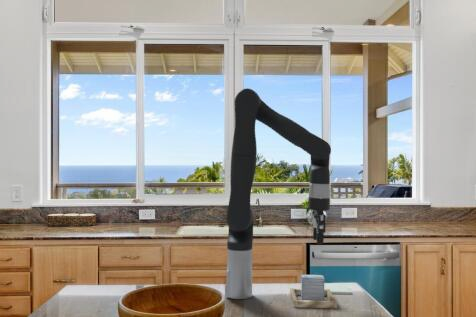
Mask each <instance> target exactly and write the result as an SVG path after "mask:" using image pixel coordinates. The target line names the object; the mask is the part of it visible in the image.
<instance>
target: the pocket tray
mask: <svg viewBox="0 0 476 317" xmlns="http://www.w3.org/2000/svg"><path fill="white" fill-rule="evenodd" d="M289 293H290V298H291V301H292V305H293V308H307V309H308V308H311V309H312V308H313V309H316V308H317V309H338V301H337V299H336V298H335V296H334V294H332V293H331V291H330V289H324V297H325V296H326V297H327V298H328V300H324V301H314V300H301V299H298V298H297V296H301V288H290V292H289Z"/></svg>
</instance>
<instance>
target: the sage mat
mask: <svg viewBox="0 0 476 317" xmlns="http://www.w3.org/2000/svg"><path fill="white" fill-rule="evenodd" d="M324 289H330V291H331V293H332V294H333V295H352V291H351V289H350V288H349V287H348V286H347V284H346V283H333V282H331V283H329V282H324Z"/></svg>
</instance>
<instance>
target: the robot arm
mask: <svg viewBox="0 0 476 317" xmlns="http://www.w3.org/2000/svg"><path fill="white" fill-rule="evenodd" d="M256 121H259V123H262V124H263V125H265V126H267V127H268V128H269V129H271V130H272V131H274V132H275V133H276V134H278V135H279V136H280V137H282V138H283V139H285V140H286V141H287V142H290V143H291V144H293V146H296V147H298V148H300V149H301V150H303V151H304V152H306V153H307V154H309V155H310V171H309V185H308V201H307V202H308V204H307V207H308V209H309V210H310V211H311V210H312V219H311V220H312V221H311V226H312V239H313V240H314V241H316V244H317V245H319V246H320V245H321V246H322V245H323V244H324V238H325V236H324V234H325V233H326V232H327V231H326V220H327V216H326V214H325V213H324V212H325V211H330V208H331V205H330V204H331V186H330V185H331V184H330V183H331V180H330V179H331V174H330V173H331V172H330V157H331V156H330V155H331V152H332V148H331V146H330V144H329V143H328V141H327V140H324V139H323V138H321V137H319V136H318V135H316V134H314V133H313V132H310V131H309V130H308V129H306V128H305V127H303V126H302V125H300V124H299V123H298V122H295V121H294V120H292V119H291V118H289V117H287V116H285V115H283V114H280V112H277V111H276V110H275V109H273V108H271V107H270V106H269V105H268V104H267V103H265V102H264V101H263V100H262V99H261V98H260V96H259V94H258V93H257V91H255V90H253V89H251V88H243V89H241V90H239V91H238V92H237V93H236V95H235V98H234V132H233V138H232V147H231V155H230V194H229V199H228V200H229V201H228V206H227V211H226V217H225V218H226V223H227V226H228V235H227V244H226V246H227V247H226V256H227V257H226V286H225V287H226V288H225V289H226V293H225V294H226V295H225V296H226V298H227V299H228V298H229V299H233V300H246V299H250V298H252V296H253V242H254V213H253V211H252V209H251V195H252V194H251V193H252V188H253V183H254V179H255V174H256V168H257V156H258V155H257V153H258V152H257V137H256Z"/></svg>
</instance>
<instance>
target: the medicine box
mask: <svg viewBox="0 0 476 317" xmlns="http://www.w3.org/2000/svg"><path fill="white" fill-rule="evenodd" d="M324 283H325V277H324V275H322V274H301V276H300V289H301V295H300V296H301V297H300V300H314V301H325V296H324Z"/></svg>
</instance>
